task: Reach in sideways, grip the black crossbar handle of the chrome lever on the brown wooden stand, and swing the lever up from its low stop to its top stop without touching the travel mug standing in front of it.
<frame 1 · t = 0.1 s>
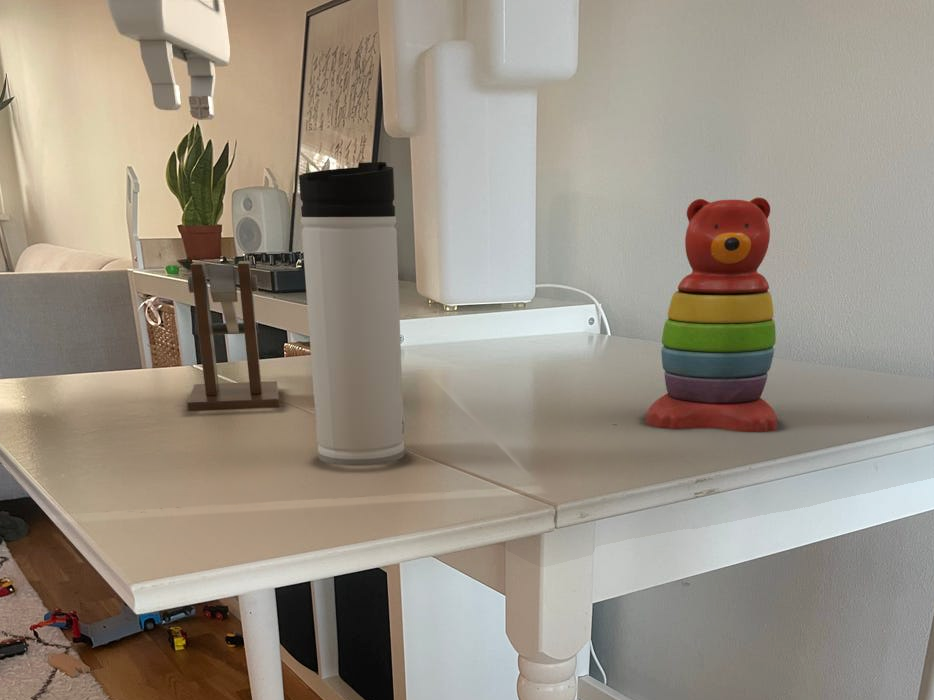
hand: (186, 114, 84), 25 cm above the table, tool pointing down, fingers open, 8 cm apart
lever: (228, 306, 94), point 9 cm above the table, hinge at -22.0°
travel mug: (363, 467, 71), on the table
stacking bear: (710, 423, 85), on the table
brown wooden stand: (236, 407, 92), on the table
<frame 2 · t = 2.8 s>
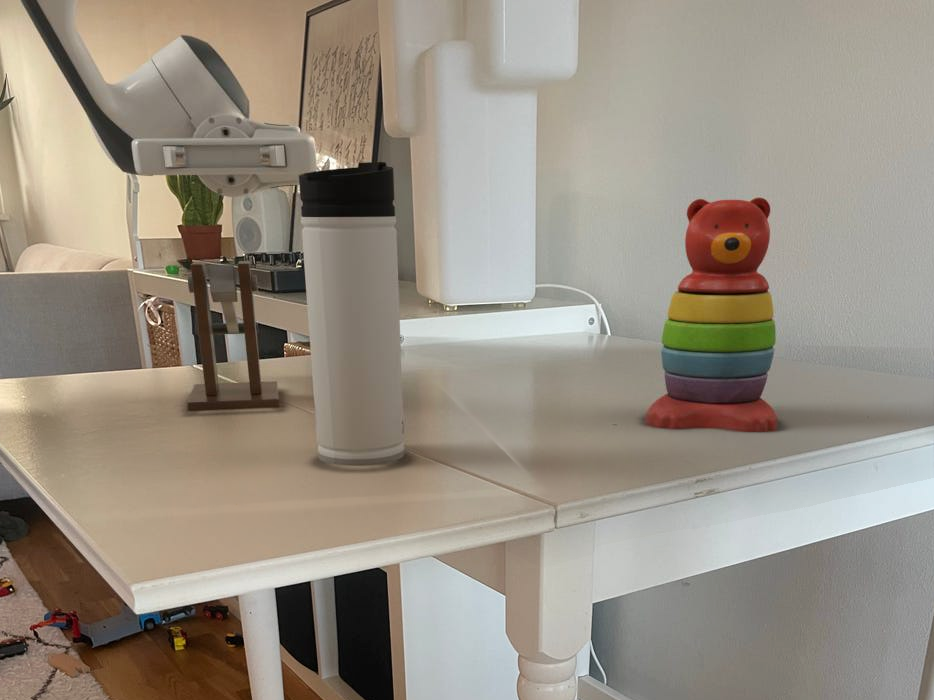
hand: (223, 156, 104), 22 cm above the table, tool horizontal, fingers open, 8 cm apart
nothing on the table moved.
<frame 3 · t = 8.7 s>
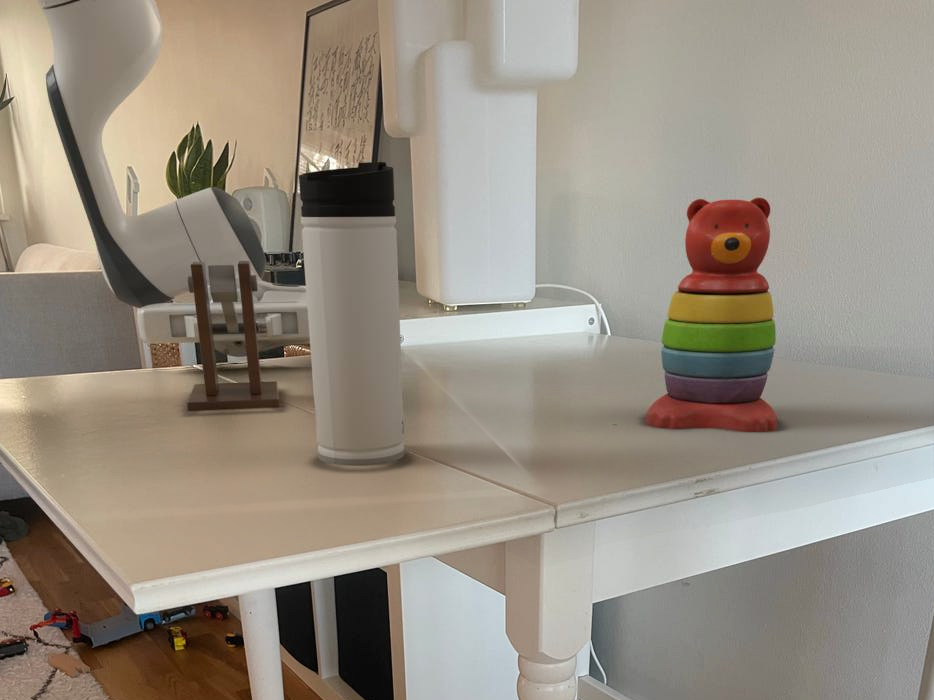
hand: (233, 329, 100), 6 cm above the table, tool horizontal, fingers closed on lever, 5 cm apart
lever: (228, 306, 94), point 9 cm above the table, hinge at -22.0°, touching gripper
everything else where it was.
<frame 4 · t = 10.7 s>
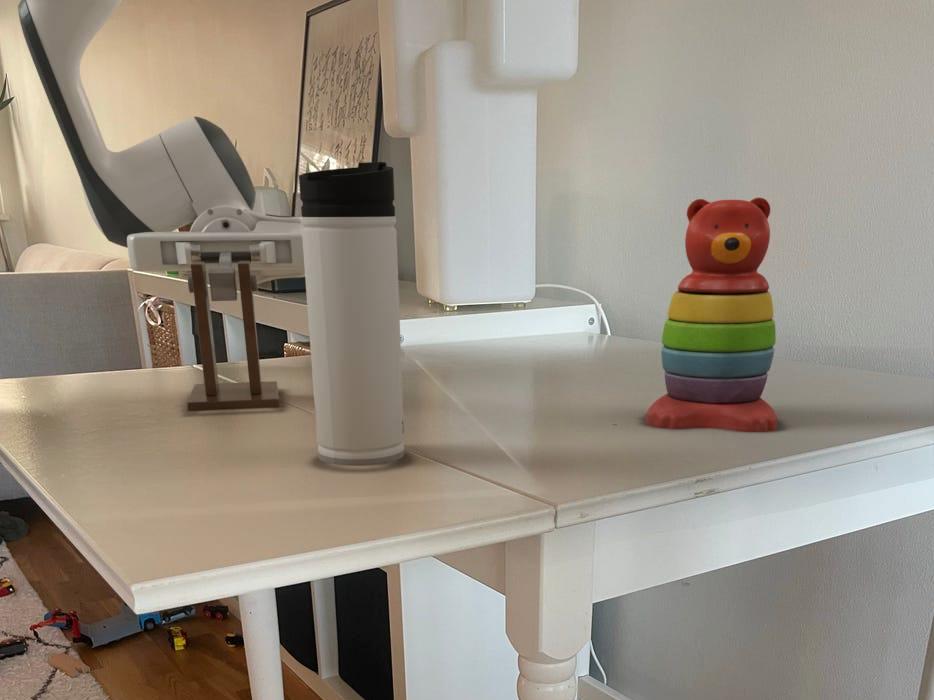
hand: (226, 255, 98), 13 cm above the table, tool horizontal, fingers closed on lever, 5 cm apart
lever: (224, 270, 93), point 12 cm above the table, hinge at 6.8°, touching gripper
everything else where it was.
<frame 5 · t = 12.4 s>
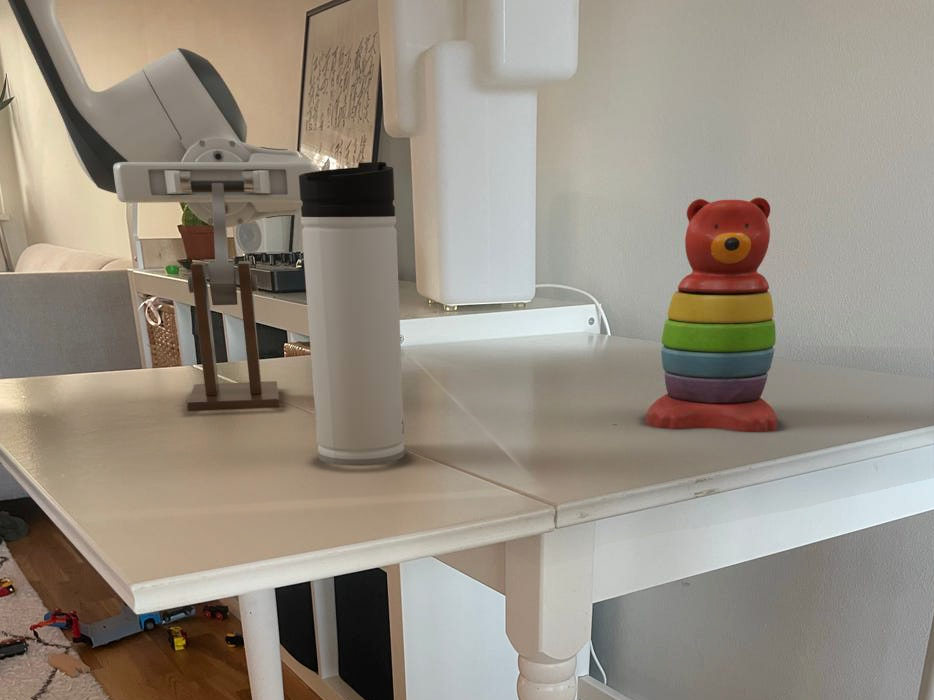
hand: (217, 181, 93), 20 cm above the table, tool horizontal, fingers closed on lever, 5 cm apart
lever: (220, 236, 91), point 15 cm above the table, hinge at 35.7°, touching gripper
everything else where it was.
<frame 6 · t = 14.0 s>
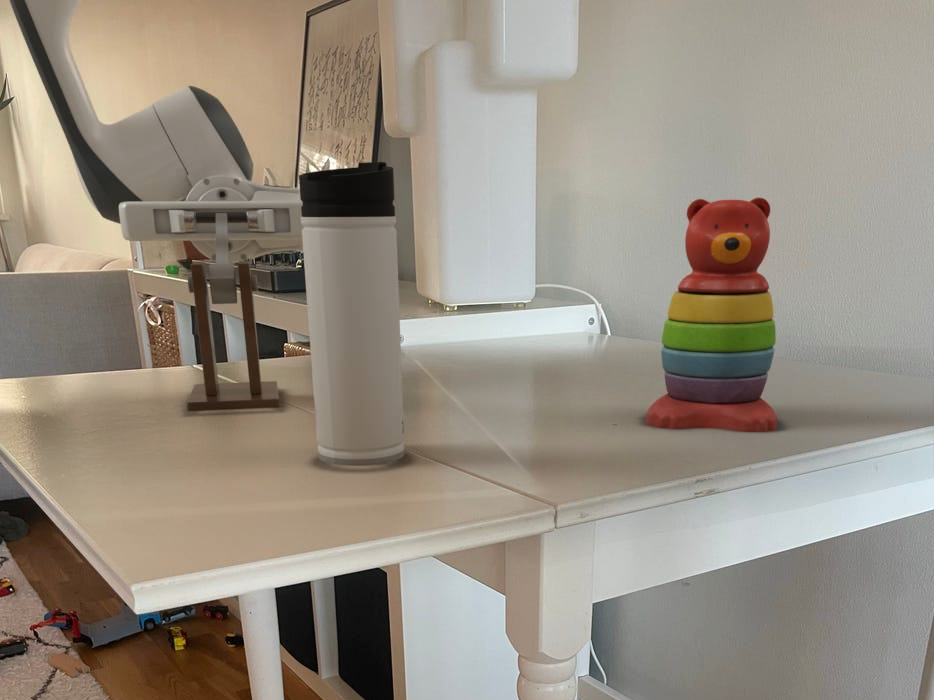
hand: (221, 221, 94), 16 cm above the table, tool horizontal, fingers open, 5 cm apart
lever: (222, 250, 92), point 14 cm above the table, hinge at 22.7°
everything else where it was.
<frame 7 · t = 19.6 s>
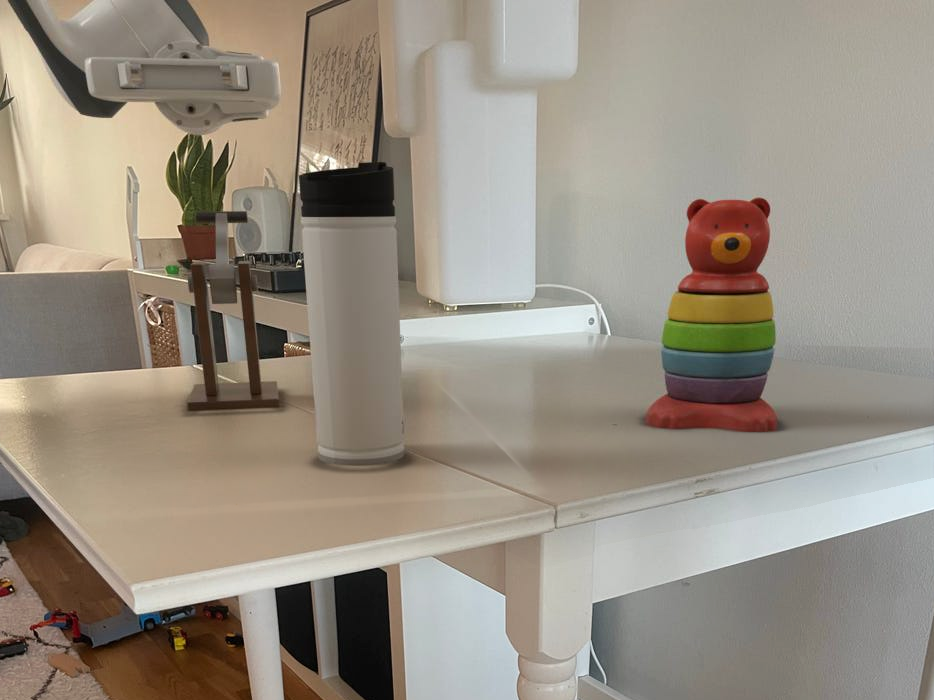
hand: (180, 72, 99), 30 cm above the table, tool horizontal, fingers open, 8 cm apart
nothing on the table moved.
at the end: lever at +23° (first picture: -22°); travel mug tilted 0°; travel mug moved 0.2 cm from its start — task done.
